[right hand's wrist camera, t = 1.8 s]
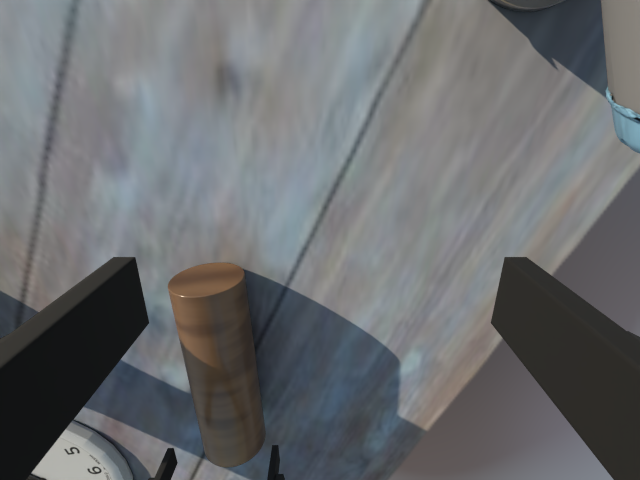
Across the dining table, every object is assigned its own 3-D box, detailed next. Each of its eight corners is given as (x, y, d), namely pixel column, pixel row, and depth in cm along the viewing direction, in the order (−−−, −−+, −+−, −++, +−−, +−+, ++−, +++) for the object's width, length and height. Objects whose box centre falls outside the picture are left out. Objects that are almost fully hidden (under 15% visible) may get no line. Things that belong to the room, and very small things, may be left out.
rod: (183, 263, 46) (154, 298, 38) (250, 261, 46) (236, 295, 38) (213, 414, 56) (195, 468, 48) (269, 412, 56) (260, 466, 48)
